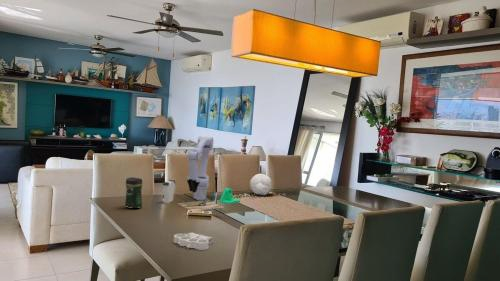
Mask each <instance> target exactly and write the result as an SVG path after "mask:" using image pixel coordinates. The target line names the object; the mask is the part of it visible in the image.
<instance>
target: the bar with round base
mask: <svg viewBox="0 0 500 281" xmlns="http://www.w3.org/2000/svg"><path fill="white" fill-rule="evenodd" d="M186 203H187V206H193V205H199V206H205V205H206V203H204V202H203V200H196V201H186Z"/></svg>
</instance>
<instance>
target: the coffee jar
mask: <svg viewBox="0 0 500 281" xmlns="http://www.w3.org/2000/svg"><path fill="white" fill-rule="evenodd" d="M125 187H126V188H125V189H126V190H125V192H126V193H125V203H124V207H125V206H128V207H132V208H138V207H141V208H143V201H142V200H143V198H142V195H143V194H142V187H143V179H142V178H139V177H127V178H126V180H125Z"/></svg>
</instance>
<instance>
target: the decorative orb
mask: <svg viewBox="0 0 500 281" xmlns="http://www.w3.org/2000/svg"><path fill="white" fill-rule="evenodd" d="M249 187H250V189H251V191H252V192H253V193H254V194H256V195H259V196H265V195H267V194H268V193H270V191H271V188H272V179H271V177H270V176H268V175H266V174H264V173H257V174H255V175H254V176H252V178H251V179H250V181H249Z"/></svg>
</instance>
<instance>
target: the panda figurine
mask: <svg viewBox="0 0 500 281" xmlns="http://www.w3.org/2000/svg"><path fill="white" fill-rule="evenodd" d="M175 184H176V180H174V179H169V180H166V181H163V182H162V185H163V186H162V194H163V195H162V199H163V204H170V203H172V202H174V195H175V192H176V185H175Z"/></svg>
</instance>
